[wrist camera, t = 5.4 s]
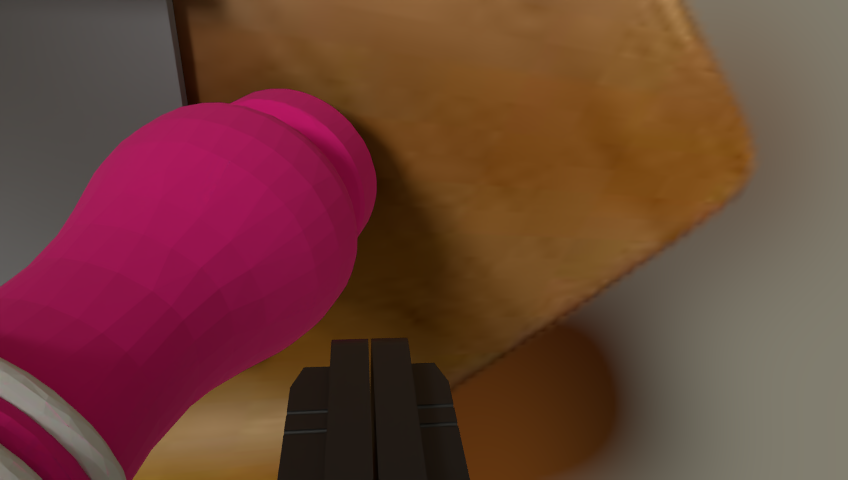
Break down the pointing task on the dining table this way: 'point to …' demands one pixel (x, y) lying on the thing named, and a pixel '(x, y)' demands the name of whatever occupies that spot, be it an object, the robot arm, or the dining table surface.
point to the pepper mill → (177, 278)
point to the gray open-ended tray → (73, 104)
